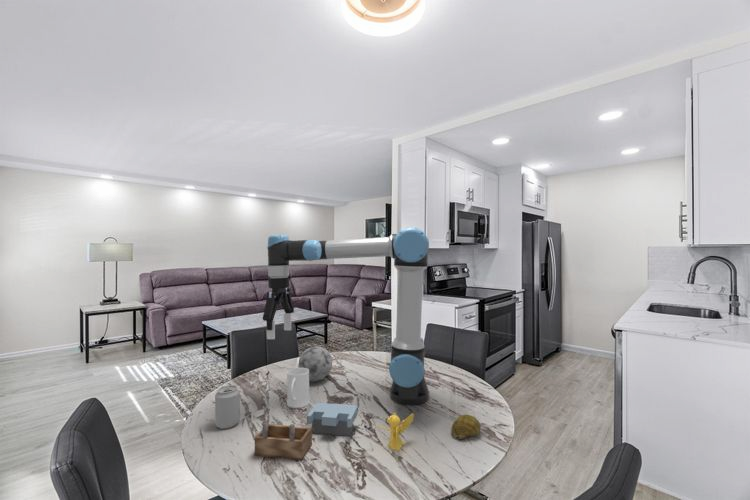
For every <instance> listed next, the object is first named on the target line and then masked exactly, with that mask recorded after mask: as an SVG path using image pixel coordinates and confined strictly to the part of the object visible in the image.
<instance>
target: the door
mask: <svg viewBox="0 0 750 500" xmlns="http://www.w3.org/2000/svg"><path fill="white" fill-rule="evenodd" d="M358 413H359V405H355V404H340V403H326V402H325V403H324V402H316V403H315V404H314V406H313V407H312V408H311V410H310V411H309V412H308V414H306V425H312V424H313V420H314V419H315V420H322V425H327V426H336V425H337V423H338V422H339V421H342V422H347V427H352V425H353V426H354V422H355V421H356V418H357V416H358V415H359V414H358Z"/></svg>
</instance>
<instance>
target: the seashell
mask: <svg viewBox="0 0 750 500" xmlns="http://www.w3.org/2000/svg"><path fill="white" fill-rule="evenodd" d="M450 429H451V431H450V436H451V437H452V438H453V439H456V438H458V439H459V440H462V439H467V438H468V437H469V436H470V437H475V436H478V435H479V433H480V431H481V423H480V421H479V419H477V418H476V417H475V416H473V415H472V414H462V415H460V416H458V417H456V419H455V420H454V421H453V423H452V426H451V428H450Z"/></svg>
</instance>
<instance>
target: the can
mask: <svg viewBox="0 0 750 500" xmlns="http://www.w3.org/2000/svg"><path fill="white" fill-rule="evenodd" d="M240 393H241V391H240V390H239V389H238V386H237V385H235V384H229V385H223V386H220V387H219V388H217V390H216V392H215V395H214V418H215V419H214V420H215V421H214V423H215V424H214V425H215V427H217V428H218V429H220V430H227V429H231V428H234V427H235V426H237V425H238V423H239V422H240V421H241V414H240V413H241V409H240V408H241V407H240V406H241V404H240V402H241V401H240V400H241V399H240V396H241V395H240Z"/></svg>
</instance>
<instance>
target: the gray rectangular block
mask: <svg viewBox="0 0 750 500" xmlns="http://www.w3.org/2000/svg"><path fill="white" fill-rule="evenodd" d="M353 431H354V424H353V425H352V427H347V422H342V421H339V422H338V423H337V425H336V426H327V425H322V420H315V419H314V420H313V422H312V434H322V435H332V436H333V435H336V436H346V437H351V435H352V433H353Z"/></svg>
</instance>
